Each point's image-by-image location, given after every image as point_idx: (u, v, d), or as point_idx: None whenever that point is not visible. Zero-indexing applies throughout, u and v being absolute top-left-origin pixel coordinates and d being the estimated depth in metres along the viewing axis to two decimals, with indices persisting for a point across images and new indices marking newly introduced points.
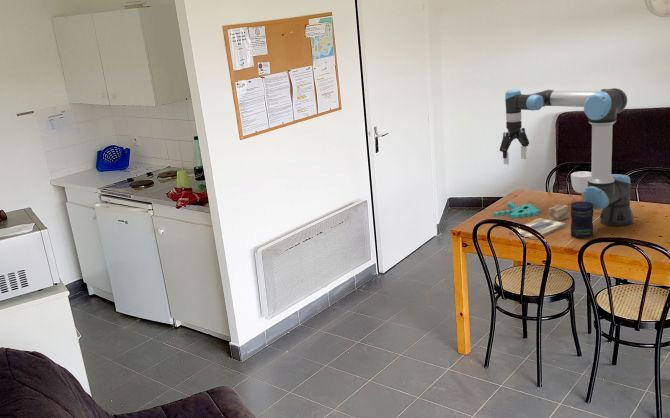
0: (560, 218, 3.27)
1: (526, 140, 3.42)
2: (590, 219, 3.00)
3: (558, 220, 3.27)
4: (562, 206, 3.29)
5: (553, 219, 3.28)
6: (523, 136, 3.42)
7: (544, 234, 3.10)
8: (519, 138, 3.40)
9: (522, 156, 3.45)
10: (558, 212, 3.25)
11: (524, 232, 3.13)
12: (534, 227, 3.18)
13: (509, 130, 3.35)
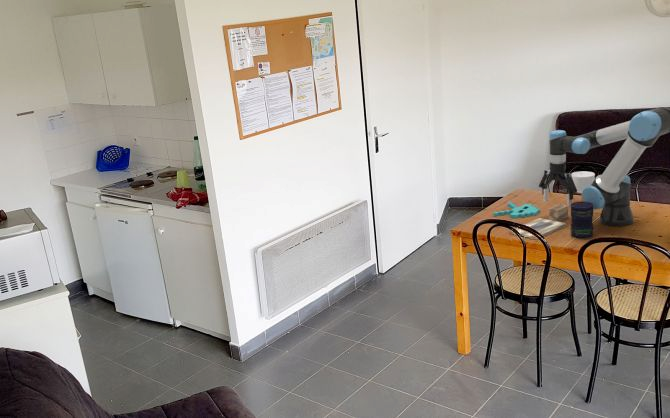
0: (560, 218, 3.27)
1: (570, 188, 3.19)
2: (590, 219, 3.00)
3: (558, 220, 3.27)
4: (562, 206, 3.29)
5: (553, 219, 3.28)
6: None
7: (544, 234, 3.10)
8: None
9: None
10: (558, 212, 3.25)
11: (524, 232, 3.13)
12: (534, 227, 3.18)
13: None
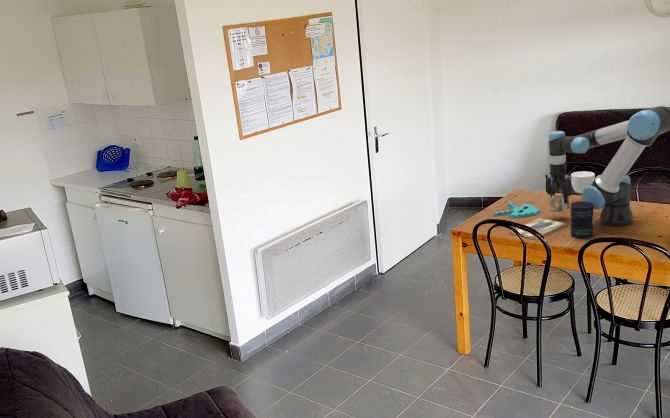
0: (561, 208, 3.25)
1: (566, 190, 3.21)
2: (590, 219, 3.00)
3: (559, 210, 3.24)
4: None
5: (554, 209, 3.26)
6: None
7: (544, 234, 3.10)
8: None
9: None
10: (559, 201, 3.23)
11: (524, 232, 3.13)
12: (534, 227, 3.18)
13: None
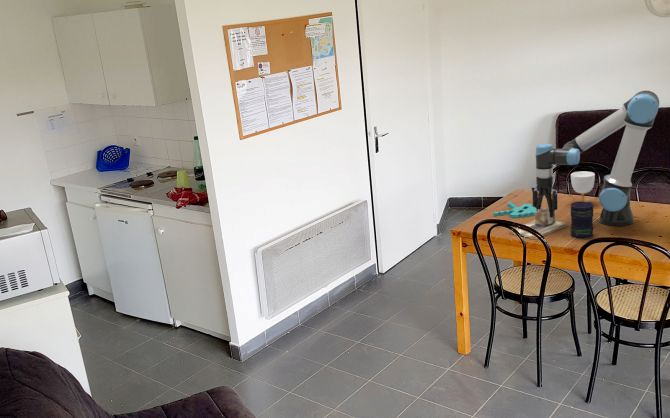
0: (547, 222, 3.18)
1: (552, 204, 3.14)
2: (590, 219, 3.00)
3: (545, 224, 3.18)
4: None
5: (539, 223, 3.19)
6: None
7: (544, 234, 3.10)
8: None
9: None
10: (545, 215, 3.17)
11: (524, 232, 3.13)
12: (534, 227, 3.18)
13: None
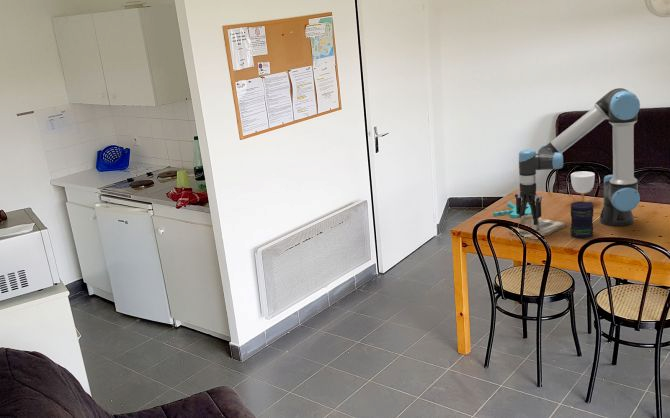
0: None
1: (536, 212, 3.07)
2: (590, 219, 3.00)
3: None
4: None
5: (523, 230, 3.11)
6: None
7: (544, 234, 3.10)
8: None
9: None
10: (528, 222, 3.09)
11: None
12: None
13: None
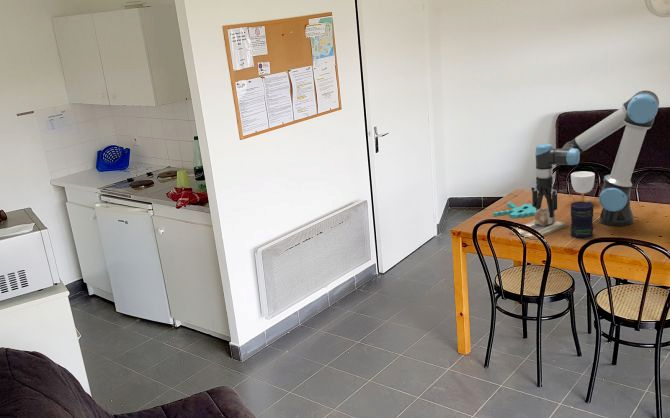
0: (546, 221, 3.18)
1: (552, 205, 3.14)
2: (590, 219, 3.00)
3: (544, 224, 3.17)
4: None
5: (539, 222, 3.19)
6: None
7: (544, 234, 3.10)
8: None
9: None
10: (545, 215, 3.16)
11: (524, 232, 3.13)
12: (534, 227, 3.18)
13: None
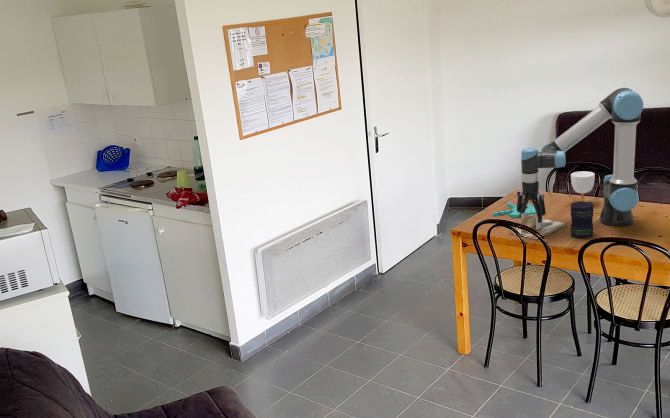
0: (533, 228, 3.12)
1: (539, 209, 3.07)
2: (590, 219, 3.00)
3: None
4: (535, 216, 3.14)
5: None
6: None
7: (544, 234, 3.10)
8: None
9: None
10: (531, 222, 3.10)
11: (524, 232, 3.13)
12: None
13: None
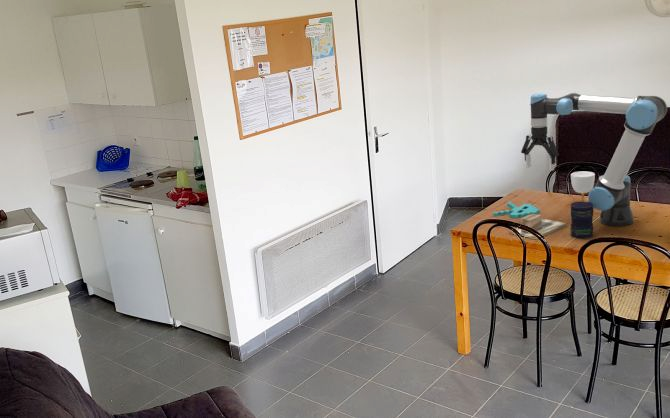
0: (533, 228, 3.12)
1: (552, 151, 3.15)
2: (590, 219, 3.00)
3: None
4: (535, 216, 3.14)
5: None
6: None
7: (544, 234, 3.10)
8: None
9: None
10: (531, 222, 3.10)
11: (524, 232, 3.13)
12: None
13: None
